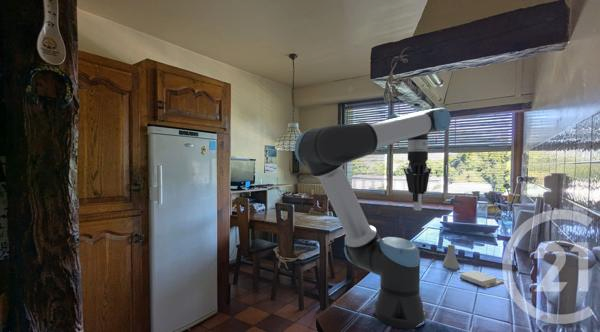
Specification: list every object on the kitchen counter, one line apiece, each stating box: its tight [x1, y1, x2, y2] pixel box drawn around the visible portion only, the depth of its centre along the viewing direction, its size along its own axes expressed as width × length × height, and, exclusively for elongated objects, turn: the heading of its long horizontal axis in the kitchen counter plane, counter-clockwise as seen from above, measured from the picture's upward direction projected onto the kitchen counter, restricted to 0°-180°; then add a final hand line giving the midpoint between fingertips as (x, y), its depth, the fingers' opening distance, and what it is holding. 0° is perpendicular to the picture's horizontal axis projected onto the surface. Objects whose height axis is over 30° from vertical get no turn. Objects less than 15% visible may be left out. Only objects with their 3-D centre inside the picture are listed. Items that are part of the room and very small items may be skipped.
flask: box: [442, 244, 461, 270], centre depth 134 cm, size 7×7×10 cm
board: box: [459, 275, 504, 289], centre depth 118 cm, size 11×11×1 cm
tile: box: [460, 270, 497, 287], centre depth 118 cm, size 2×9×9 cm
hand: (417, 209), depth 115 cm, fingers closed
